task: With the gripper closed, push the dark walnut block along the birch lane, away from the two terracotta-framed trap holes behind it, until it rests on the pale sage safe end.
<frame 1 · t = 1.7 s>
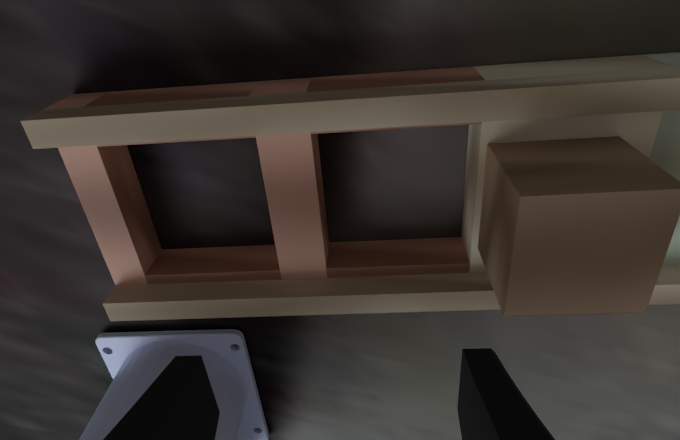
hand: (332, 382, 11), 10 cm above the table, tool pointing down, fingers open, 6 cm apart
walnut block: (542, 196, 17), point 2 cm above the table, touching trap lane
trap lane: (465, 176, 19), on the table
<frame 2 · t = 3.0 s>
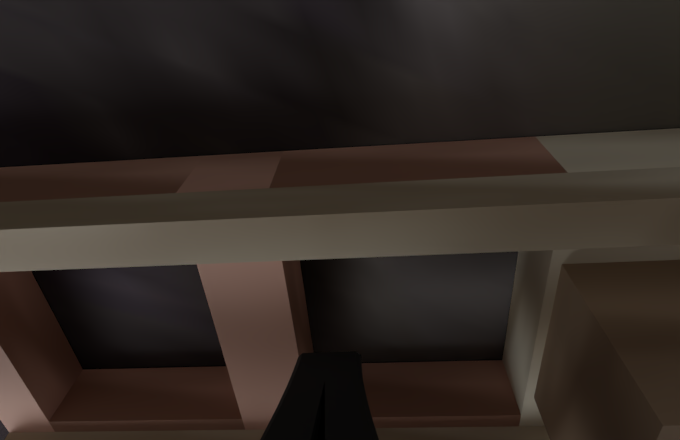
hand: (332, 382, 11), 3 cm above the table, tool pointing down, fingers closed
walnut block: (641, 335, 11), point 2 cm above the table, touching trap lane
trap lane: (513, 286, 13), on the table
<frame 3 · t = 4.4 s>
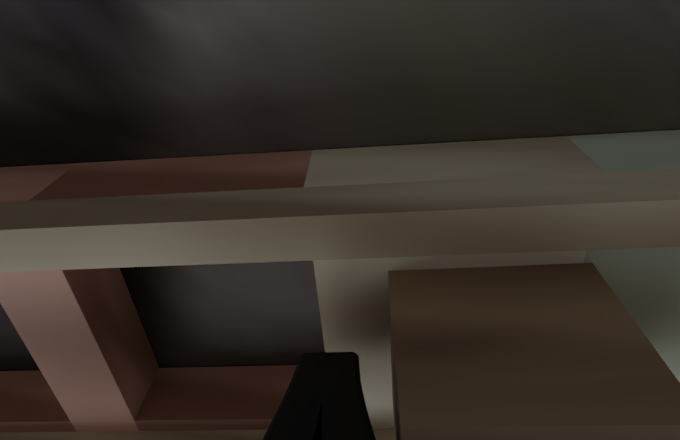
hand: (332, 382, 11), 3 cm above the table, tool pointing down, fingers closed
walnut block: (480, 339, 11), point 2 cm above the table, touching gripper, trap lane
trap lane: (328, 293, 13), on the table
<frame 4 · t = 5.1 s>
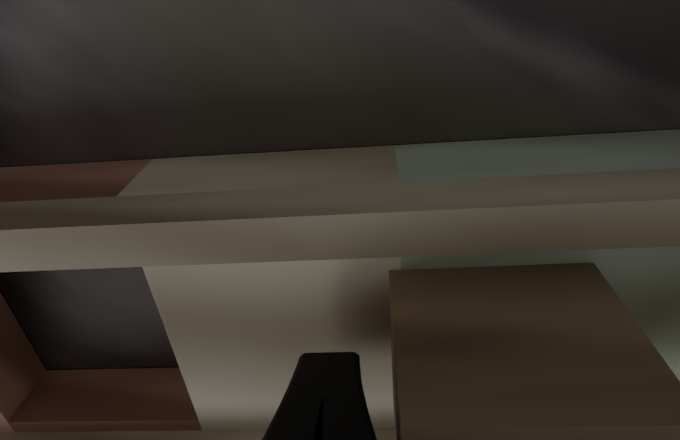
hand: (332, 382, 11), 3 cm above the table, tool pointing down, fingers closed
walnut block: (481, 339, 11), point 2 cm above the table, touching gripper
trap lane: (195, 297, 14), on the table
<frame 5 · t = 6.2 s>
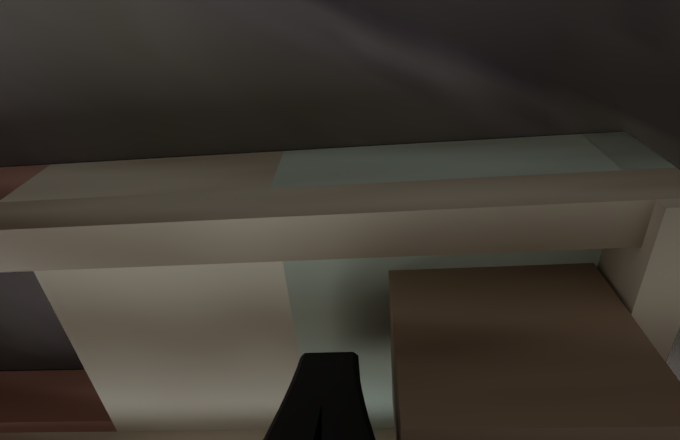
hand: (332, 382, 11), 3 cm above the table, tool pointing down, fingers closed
walnut block: (481, 339, 11), point 2 cm above the table, touching gripper, trap lane
trap lane: (109, 300, 14), on the table
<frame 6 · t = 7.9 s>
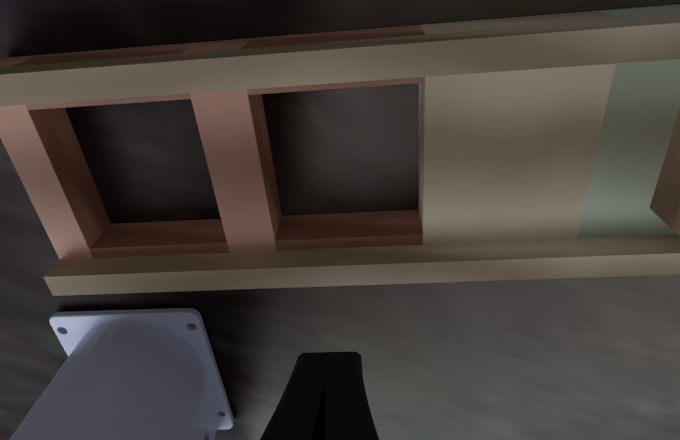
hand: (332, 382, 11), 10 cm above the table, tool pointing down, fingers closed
trap lane: (418, 144, 18), on the table
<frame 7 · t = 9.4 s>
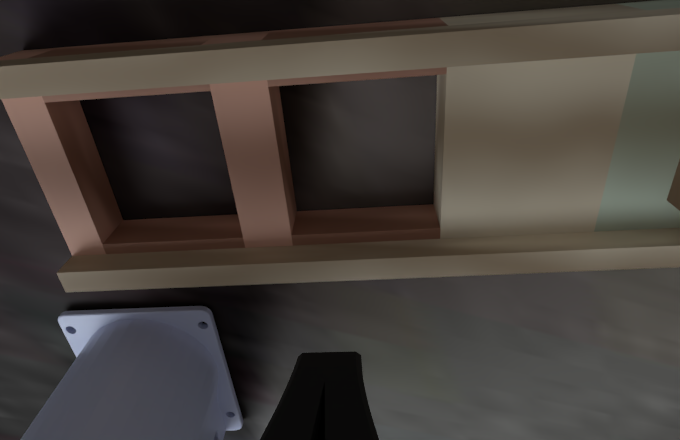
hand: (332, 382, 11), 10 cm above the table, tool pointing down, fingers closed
trap lane: (435, 138, 18), on the table
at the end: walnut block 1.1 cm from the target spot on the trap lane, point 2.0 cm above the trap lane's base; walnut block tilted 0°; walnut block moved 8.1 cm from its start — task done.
